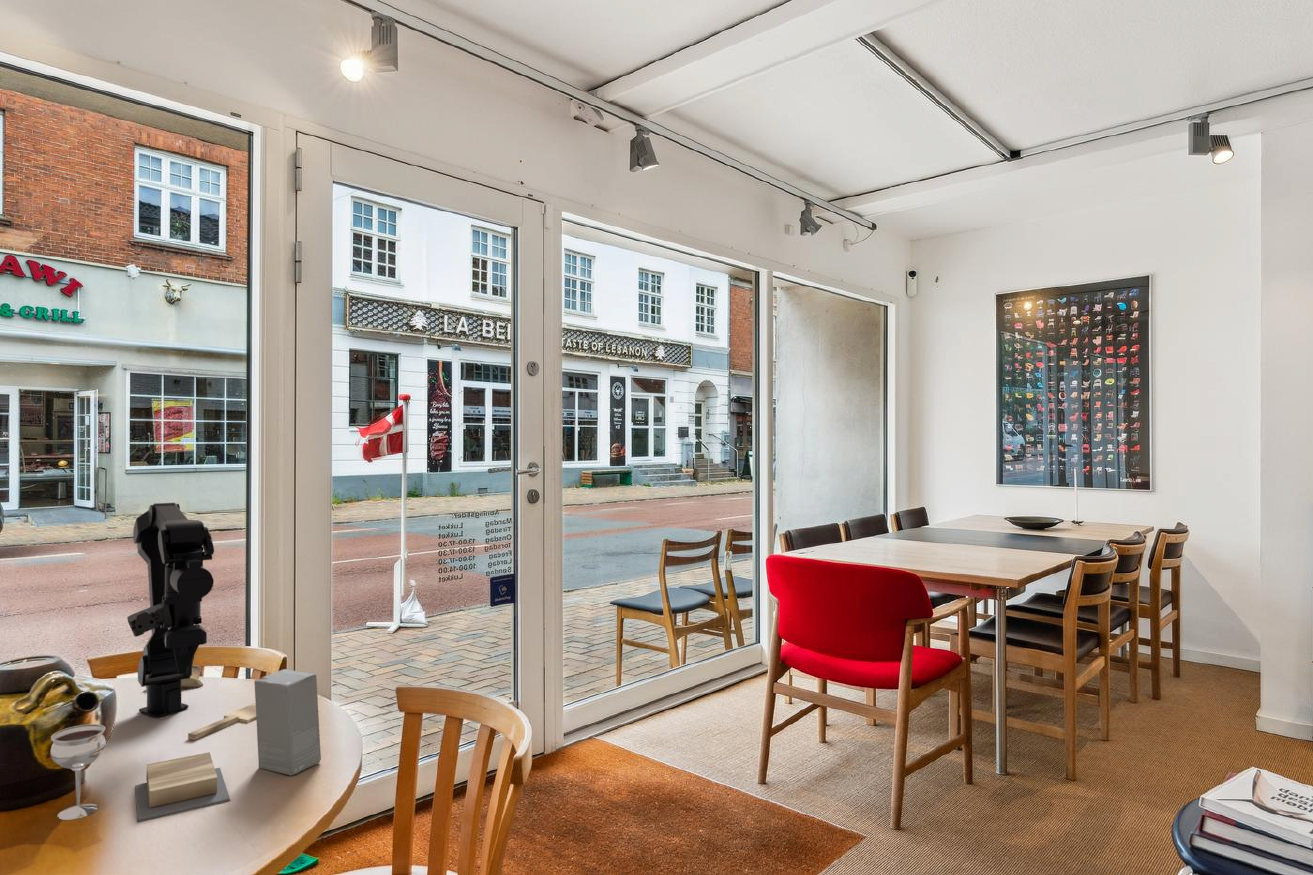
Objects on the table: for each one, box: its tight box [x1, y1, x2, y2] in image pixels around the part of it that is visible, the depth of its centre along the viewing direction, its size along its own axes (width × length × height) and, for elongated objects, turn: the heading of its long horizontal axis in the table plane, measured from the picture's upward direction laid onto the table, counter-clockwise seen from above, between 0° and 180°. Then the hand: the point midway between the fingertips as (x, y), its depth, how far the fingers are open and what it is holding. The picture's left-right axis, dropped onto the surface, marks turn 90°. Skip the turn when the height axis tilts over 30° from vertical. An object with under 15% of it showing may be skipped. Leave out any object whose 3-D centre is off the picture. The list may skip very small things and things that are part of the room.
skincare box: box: [253, 668, 322, 777], centre depth 135 cm, size 8×7×16 cm
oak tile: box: [145, 752, 217, 808], centre depth 126 cm, size 3×9×11 cm
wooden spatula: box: [187, 702, 256, 741], centre depth 154 cm, size 18×6×1 cm, turn 162°
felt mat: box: [135, 767, 231, 822], centre depth 125 cm, size 13×12×1 cm
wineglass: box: [50, 723, 107, 821], centre depth 119 cm, size 7×7×12 cm
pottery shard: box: [145, 664, 204, 690], centre depth 175 cm, size 11×4×10 cm
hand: (182, 673), depth 146 cm, fingers closed
